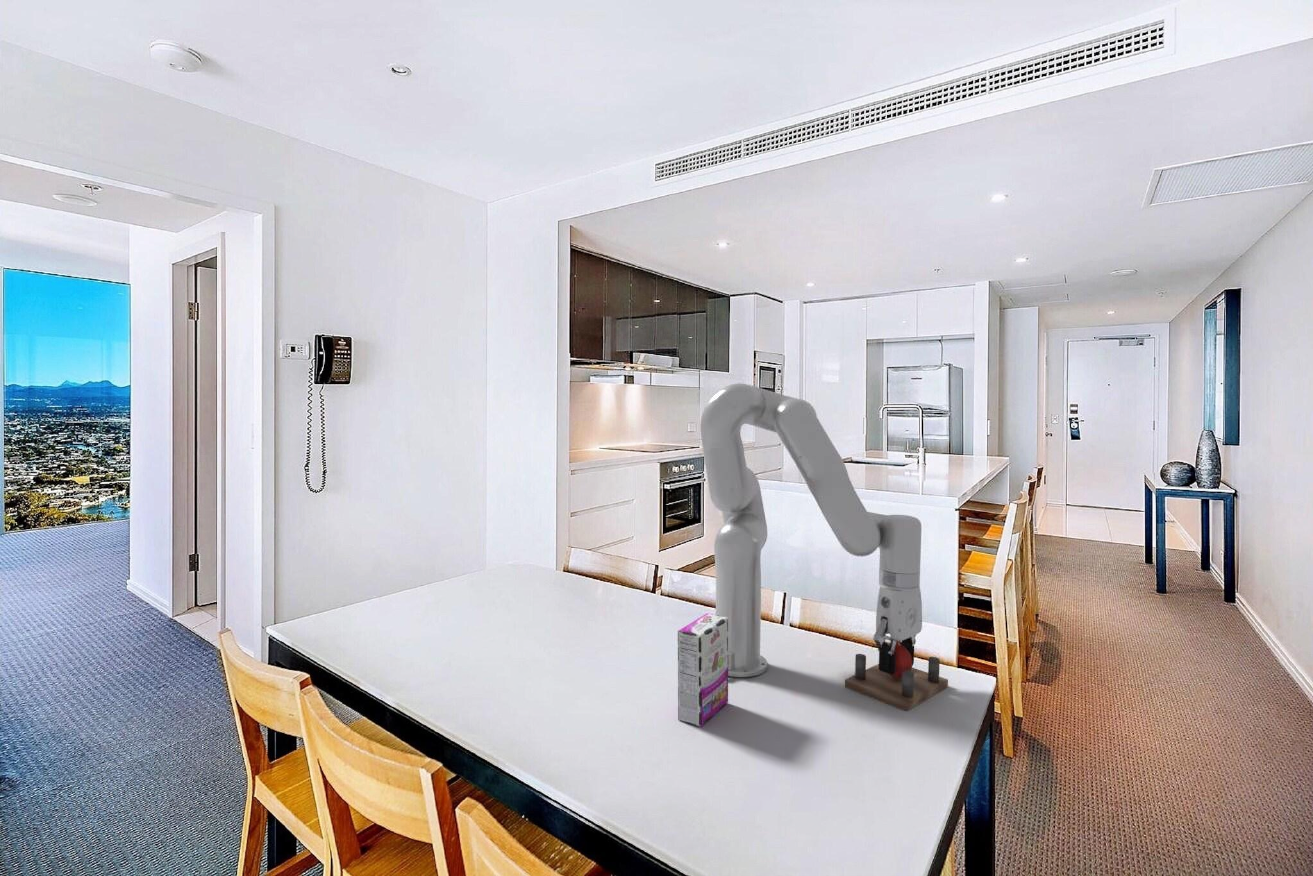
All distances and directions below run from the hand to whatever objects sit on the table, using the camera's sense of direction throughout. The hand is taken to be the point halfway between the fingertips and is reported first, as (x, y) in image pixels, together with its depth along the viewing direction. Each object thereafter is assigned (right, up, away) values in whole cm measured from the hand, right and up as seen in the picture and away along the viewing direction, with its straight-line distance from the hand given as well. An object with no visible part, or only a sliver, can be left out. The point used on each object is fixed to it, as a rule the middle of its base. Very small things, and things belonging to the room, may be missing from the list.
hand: (896, 666), depth 127 cm
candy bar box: (-39, -5, -11) cm, 41 cm away
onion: (0, -3, 0) cm, 3 cm away
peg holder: (0, -4, 0) cm, 4 cm away
